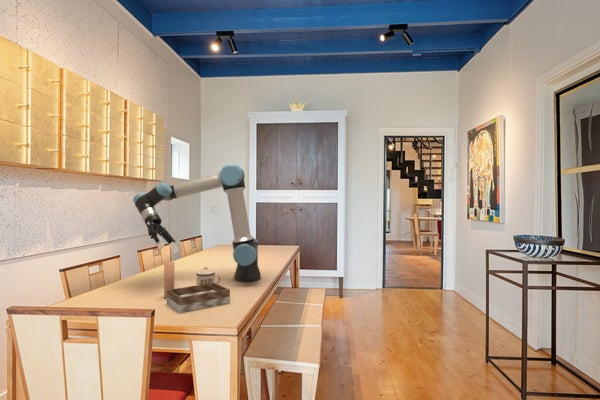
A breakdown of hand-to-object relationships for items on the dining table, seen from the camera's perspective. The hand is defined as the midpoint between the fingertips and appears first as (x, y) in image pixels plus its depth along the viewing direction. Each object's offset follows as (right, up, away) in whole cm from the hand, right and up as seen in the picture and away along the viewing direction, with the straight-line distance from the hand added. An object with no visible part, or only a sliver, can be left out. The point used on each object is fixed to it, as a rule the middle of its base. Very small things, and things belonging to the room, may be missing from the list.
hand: (169, 250), depth 171 cm
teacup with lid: (+18, -21, +3) cm, 28 cm away
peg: (+4, -20, -11) cm, 23 cm away
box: (+20, -20, -20) cm, 35 cm away
